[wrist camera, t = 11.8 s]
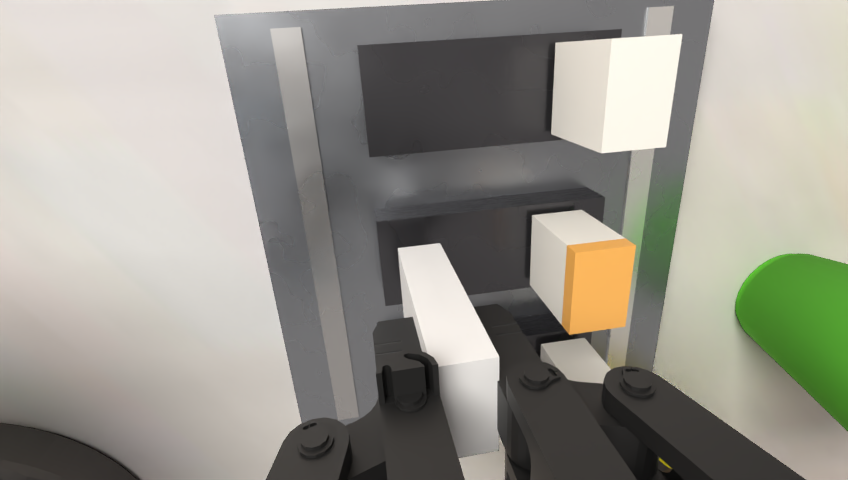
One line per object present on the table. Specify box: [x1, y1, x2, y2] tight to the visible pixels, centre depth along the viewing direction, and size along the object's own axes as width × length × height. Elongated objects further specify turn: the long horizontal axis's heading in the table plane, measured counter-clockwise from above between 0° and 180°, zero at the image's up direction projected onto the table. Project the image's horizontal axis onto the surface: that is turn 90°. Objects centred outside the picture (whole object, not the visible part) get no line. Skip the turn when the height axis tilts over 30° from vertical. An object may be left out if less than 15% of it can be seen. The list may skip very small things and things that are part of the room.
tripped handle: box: [530, 210, 636, 335], centre depth 16 cm, size 2×3×4 cm, turn 3°
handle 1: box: [540, 338, 611, 384], centre depth 19 cm, size 2×3×4 cm, turn 3°
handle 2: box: [551, 34, 682, 153], centre depth 14 cm, size 2×3×4 cm, turn 3°
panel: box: [214, 0, 714, 425], centre depth 19 cm, size 18×18×3 cm
